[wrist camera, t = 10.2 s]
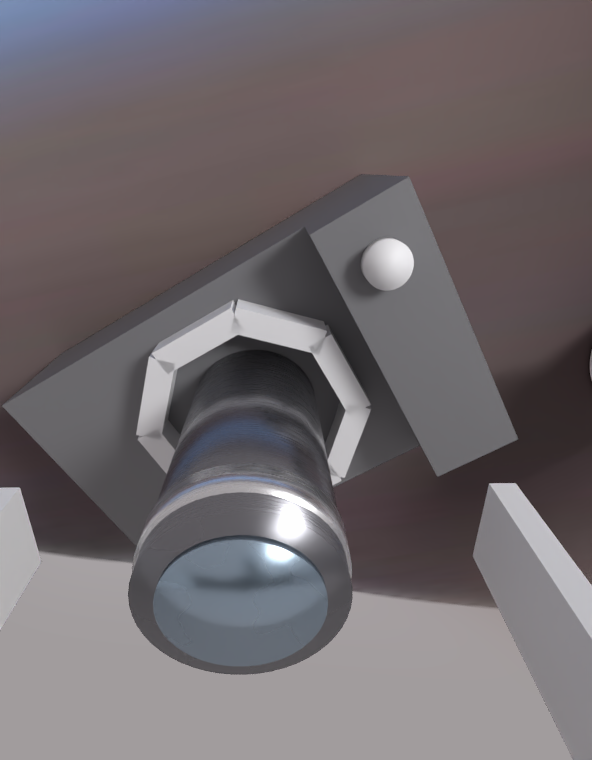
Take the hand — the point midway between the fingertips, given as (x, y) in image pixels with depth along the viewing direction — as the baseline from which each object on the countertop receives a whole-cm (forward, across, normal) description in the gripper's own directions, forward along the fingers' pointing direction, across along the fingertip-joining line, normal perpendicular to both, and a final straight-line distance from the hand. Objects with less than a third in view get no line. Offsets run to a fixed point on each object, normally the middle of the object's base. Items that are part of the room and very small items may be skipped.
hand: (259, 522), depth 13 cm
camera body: (+13, -1, 0) cm, 13 cm away
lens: (+7, 0, 0) cm, 7 cm away
